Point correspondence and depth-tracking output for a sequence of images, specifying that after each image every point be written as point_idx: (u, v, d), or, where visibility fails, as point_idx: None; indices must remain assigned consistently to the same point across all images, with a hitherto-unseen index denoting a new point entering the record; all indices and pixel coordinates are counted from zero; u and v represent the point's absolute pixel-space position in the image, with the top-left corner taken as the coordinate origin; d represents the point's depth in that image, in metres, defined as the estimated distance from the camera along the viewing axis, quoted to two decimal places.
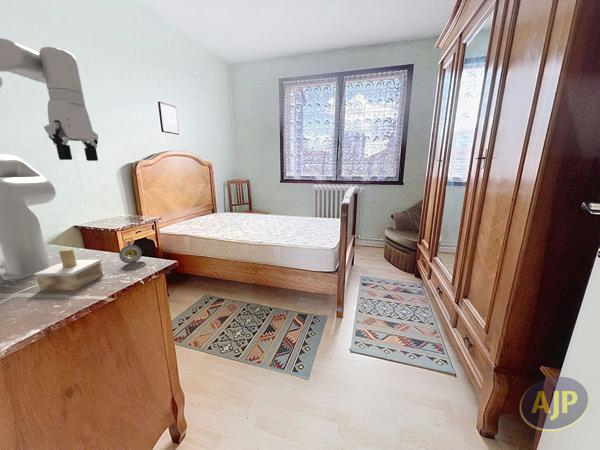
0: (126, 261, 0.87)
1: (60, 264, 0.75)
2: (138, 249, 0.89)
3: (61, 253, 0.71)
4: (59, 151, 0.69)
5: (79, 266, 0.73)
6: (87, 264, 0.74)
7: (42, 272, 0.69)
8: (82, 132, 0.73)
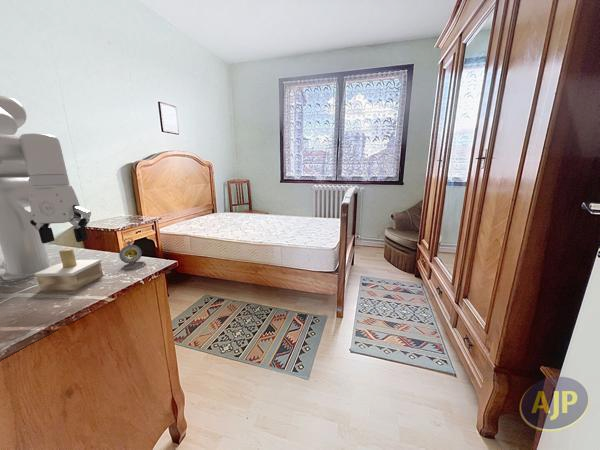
0: (126, 261, 0.87)
1: (60, 264, 0.75)
2: (138, 249, 0.89)
3: (61, 253, 0.71)
4: (82, 233, 0.70)
5: (79, 266, 0.73)
6: (87, 264, 0.74)
7: (42, 272, 0.69)
8: None
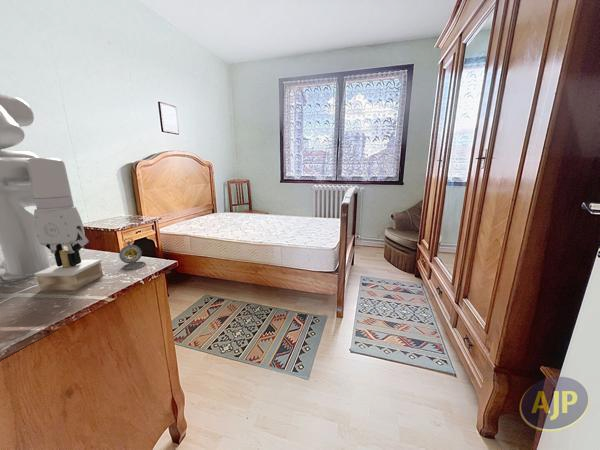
0: (126, 261, 0.87)
1: None
2: (138, 249, 0.89)
3: (61, 253, 0.71)
4: (76, 258, 0.72)
5: (79, 266, 0.73)
6: (87, 264, 0.74)
7: (42, 272, 0.69)
8: None
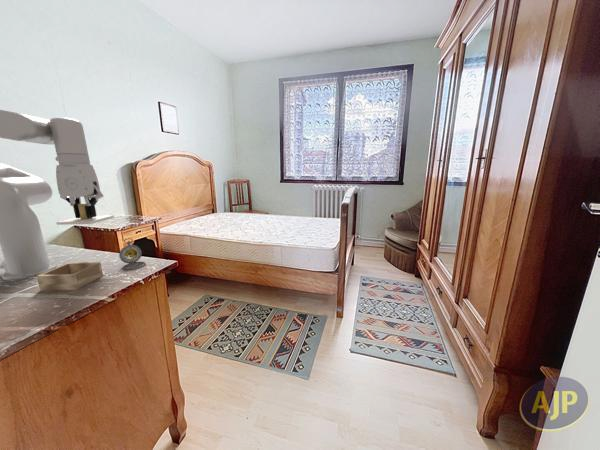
0: (126, 261, 0.87)
1: None
2: (138, 249, 0.89)
3: (79, 205, 0.80)
4: (92, 210, 0.81)
5: (95, 218, 0.82)
6: (102, 217, 0.83)
7: (63, 221, 0.78)
8: None
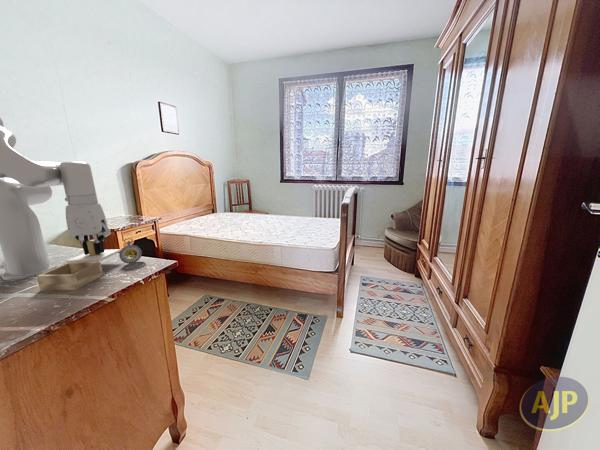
0: (126, 261, 0.87)
1: None
2: (138, 249, 0.89)
3: (88, 243, 0.83)
4: (100, 247, 0.84)
5: (103, 254, 0.85)
6: (109, 253, 0.86)
7: (73, 259, 0.81)
8: None
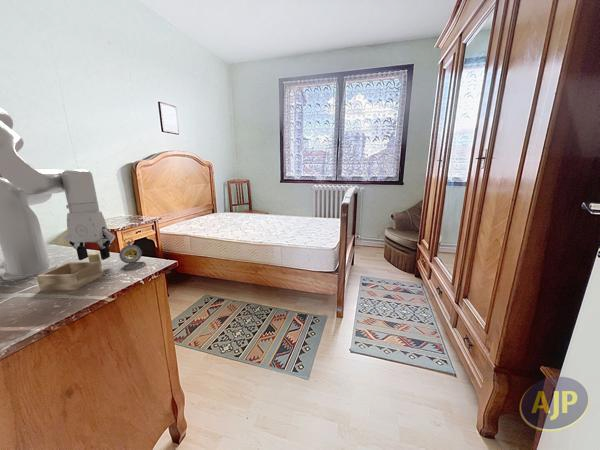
0: (126, 261, 0.87)
1: None
2: (138, 249, 0.89)
3: (90, 257, 0.84)
4: (106, 252, 0.85)
5: None
6: None
7: None
8: None
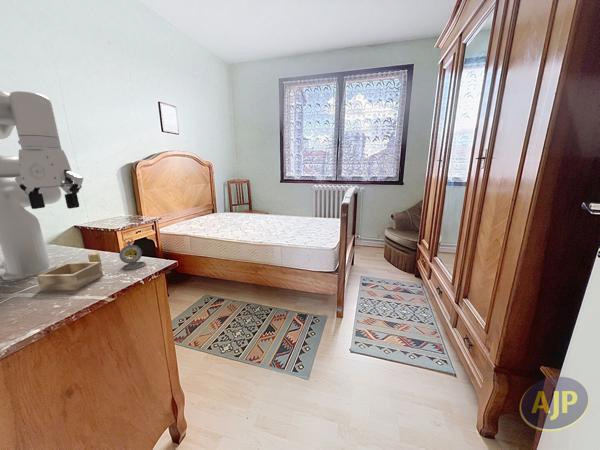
0: (126, 261, 0.87)
1: None
2: (138, 249, 0.89)
3: (90, 257, 0.84)
4: (74, 200, 0.69)
5: None
6: None
7: None
8: None
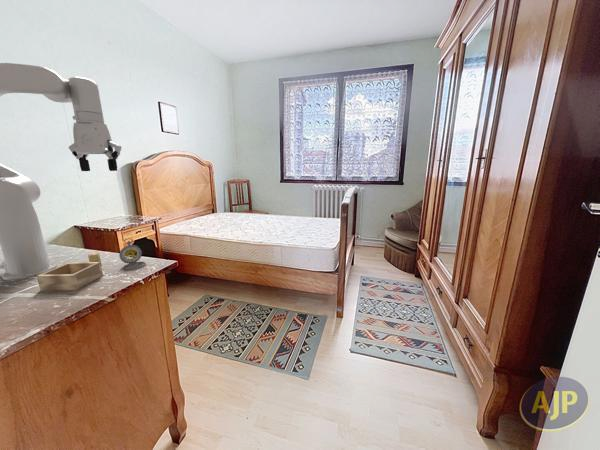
0: (126, 261, 0.87)
1: None
2: (138, 249, 0.89)
3: (90, 257, 0.84)
4: (114, 164, 0.87)
5: None
6: None
7: None
8: None
